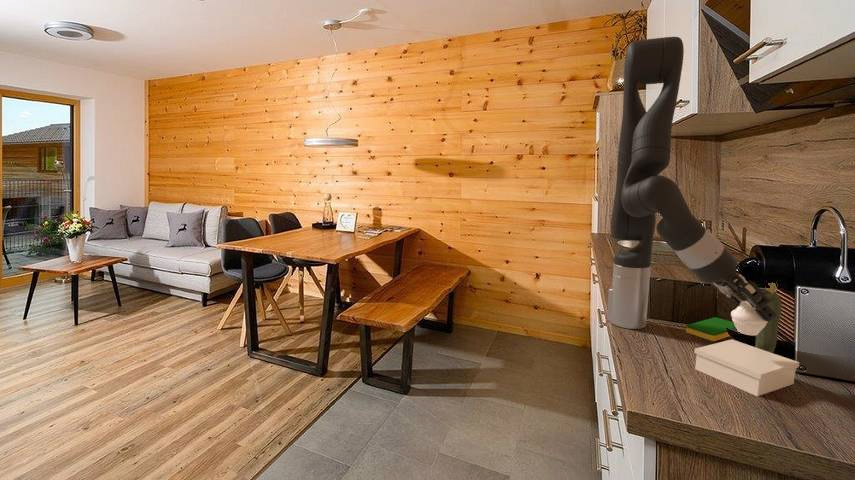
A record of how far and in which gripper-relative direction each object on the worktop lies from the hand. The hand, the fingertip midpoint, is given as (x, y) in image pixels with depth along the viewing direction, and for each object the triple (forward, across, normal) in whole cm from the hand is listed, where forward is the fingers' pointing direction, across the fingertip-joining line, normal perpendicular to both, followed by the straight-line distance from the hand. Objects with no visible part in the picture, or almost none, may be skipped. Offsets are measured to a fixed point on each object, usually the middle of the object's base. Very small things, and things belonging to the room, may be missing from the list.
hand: (759, 312), depth 82 cm
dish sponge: (+15, +25, +5) cm, 30 cm away
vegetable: (+15, +8, +5) cm, 18 cm away
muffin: (+2, 0, +4) cm, 5 cm away
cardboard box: (+9, 0, +11) cm, 14 cm away
